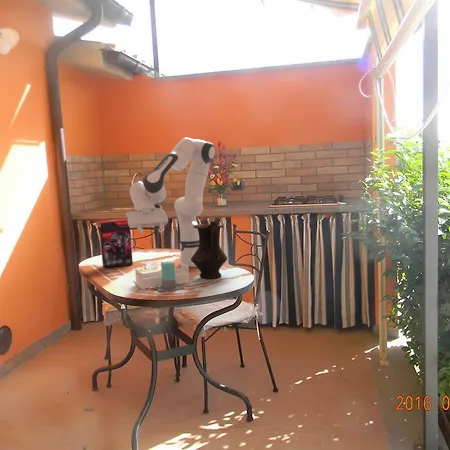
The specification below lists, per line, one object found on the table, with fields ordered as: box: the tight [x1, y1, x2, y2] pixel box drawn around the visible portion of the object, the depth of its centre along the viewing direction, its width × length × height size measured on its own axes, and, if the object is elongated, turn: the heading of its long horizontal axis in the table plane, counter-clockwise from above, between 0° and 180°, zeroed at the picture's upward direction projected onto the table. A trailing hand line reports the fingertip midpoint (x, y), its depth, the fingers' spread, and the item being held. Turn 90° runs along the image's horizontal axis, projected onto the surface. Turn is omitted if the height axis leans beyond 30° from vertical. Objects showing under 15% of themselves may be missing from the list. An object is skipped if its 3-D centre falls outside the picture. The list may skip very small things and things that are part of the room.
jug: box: [191, 220, 228, 280], centre depth 255 cm, size 21×18×30 cm
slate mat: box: [153, 284, 185, 293], centre depth 238 cm, size 12×9×1 cm
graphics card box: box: [98, 218, 134, 269], centre depth 295 cm, size 17×7×27 cm, turn 115°
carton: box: [133, 262, 190, 290], centre depth 251 cm, size 24×18×8 cm
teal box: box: [160, 260, 176, 289], centre depth 238 cm, size 5×5×12 cm
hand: (152, 232), depth 247 cm, fingers open, 8 cm apart
